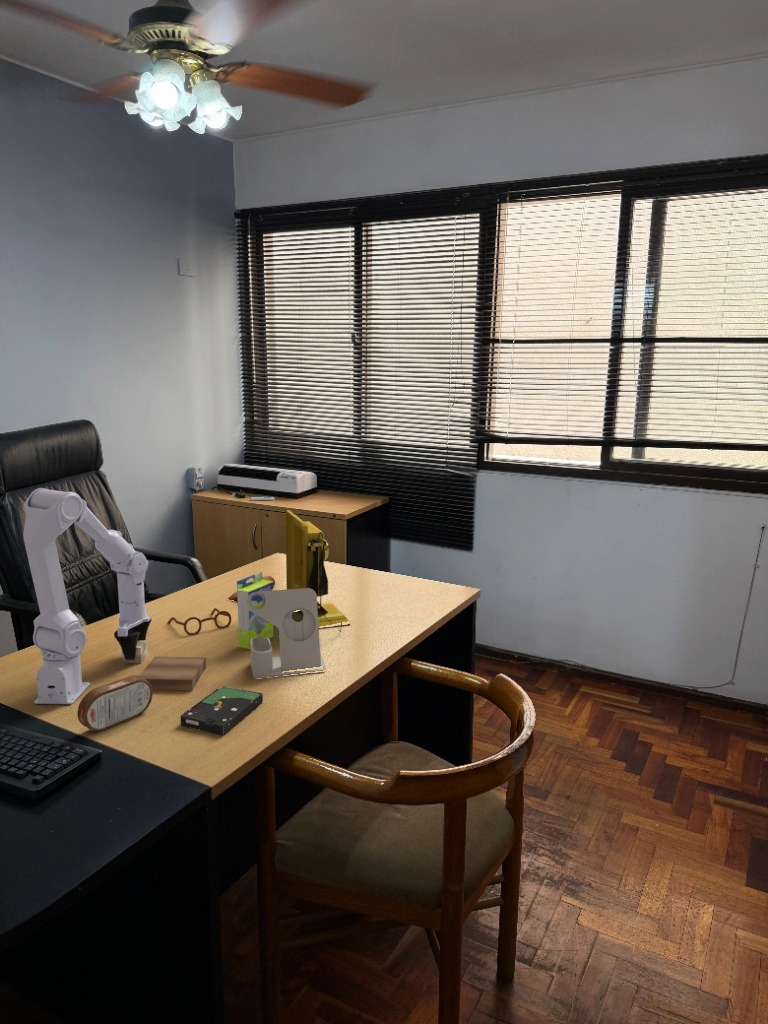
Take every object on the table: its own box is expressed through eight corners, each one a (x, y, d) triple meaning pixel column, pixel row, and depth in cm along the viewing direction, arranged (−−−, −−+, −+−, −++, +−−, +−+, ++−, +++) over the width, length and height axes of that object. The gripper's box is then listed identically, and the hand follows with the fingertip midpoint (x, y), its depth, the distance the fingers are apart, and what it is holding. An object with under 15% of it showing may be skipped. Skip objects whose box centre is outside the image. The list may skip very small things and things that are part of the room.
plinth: (192, 690, 154) (192, 679, 153) (137, 689, 154) (136, 678, 153) (206, 667, 165) (205, 657, 165) (154, 666, 165) (154, 656, 165)
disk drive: (225, 739, 135) (263, 704, 149) (224, 725, 135) (263, 692, 148) (179, 728, 139) (221, 695, 152) (179, 715, 138) (221, 683, 152)
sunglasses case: (251, 583, 228) (260, 567, 226) (268, 595, 227) (278, 579, 225) (225, 600, 211) (234, 583, 209) (243, 614, 210) (253, 597, 208)
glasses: (185, 638, 184) (184, 620, 182) (167, 623, 194) (167, 605, 193) (232, 628, 191) (231, 610, 190) (213, 614, 201) (212, 597, 200)
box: (249, 650, 176) (248, 584, 172) (236, 647, 177) (234, 581, 174) (275, 636, 185) (274, 573, 181) (262, 633, 187) (261, 570, 183)
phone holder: (252, 679, 159) (250, 604, 156) (248, 661, 169) (246, 590, 165) (327, 672, 164) (327, 598, 160) (319, 655, 173) (319, 585, 170)
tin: (147, 706, 147) (145, 668, 145) (156, 710, 145) (154, 672, 143) (77, 734, 135) (74, 693, 133) (86, 739, 133) (83, 698, 131)
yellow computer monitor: (362, 637, 185) (364, 526, 179) (311, 644, 180) (311, 530, 174) (327, 600, 214) (327, 503, 207) (282, 605, 208) (281, 506, 202)
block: (141, 663, 167) (140, 647, 166) (122, 663, 167) (121, 647, 166) (147, 655, 171) (146, 640, 171) (129, 655, 171) (128, 640, 171)
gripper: (138, 610, 159) (141, 666, 162) (158, 590, 173) (160, 642, 176) (106, 609, 159) (110, 666, 162) (129, 589, 173) (132, 641, 176)
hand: (134, 653), depth 169 cm, fingers open, 6 cm apart
